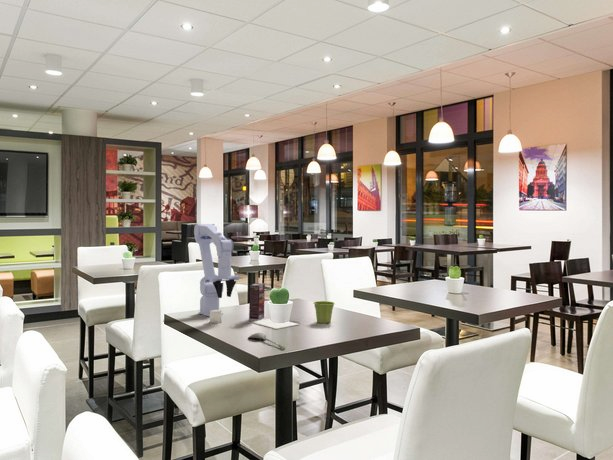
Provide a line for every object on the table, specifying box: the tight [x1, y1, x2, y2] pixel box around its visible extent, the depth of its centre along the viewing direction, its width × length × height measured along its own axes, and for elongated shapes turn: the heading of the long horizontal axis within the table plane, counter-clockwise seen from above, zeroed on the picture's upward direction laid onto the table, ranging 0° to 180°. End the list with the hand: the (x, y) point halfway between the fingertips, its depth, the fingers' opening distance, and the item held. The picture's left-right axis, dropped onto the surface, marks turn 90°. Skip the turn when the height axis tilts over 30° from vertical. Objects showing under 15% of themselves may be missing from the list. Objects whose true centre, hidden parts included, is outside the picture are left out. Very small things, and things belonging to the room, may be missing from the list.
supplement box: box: [248, 282, 266, 322], centre depth 222 cm, size 9×5×16 cm, turn 167°
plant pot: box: [313, 300, 335, 324], centre depth 217 cm, size 9×9×9 cm
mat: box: [250, 318, 300, 330], centre depth 212 cm, size 17×13×1 cm
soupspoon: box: [248, 332, 286, 351], centre depth 180 cm, size 22×3×7 cm
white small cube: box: [209, 309, 223, 324], centre depth 214 cm, size 5×5×5 cm
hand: (224, 297), depth 218 cm, fingers open, 4 cm apart
